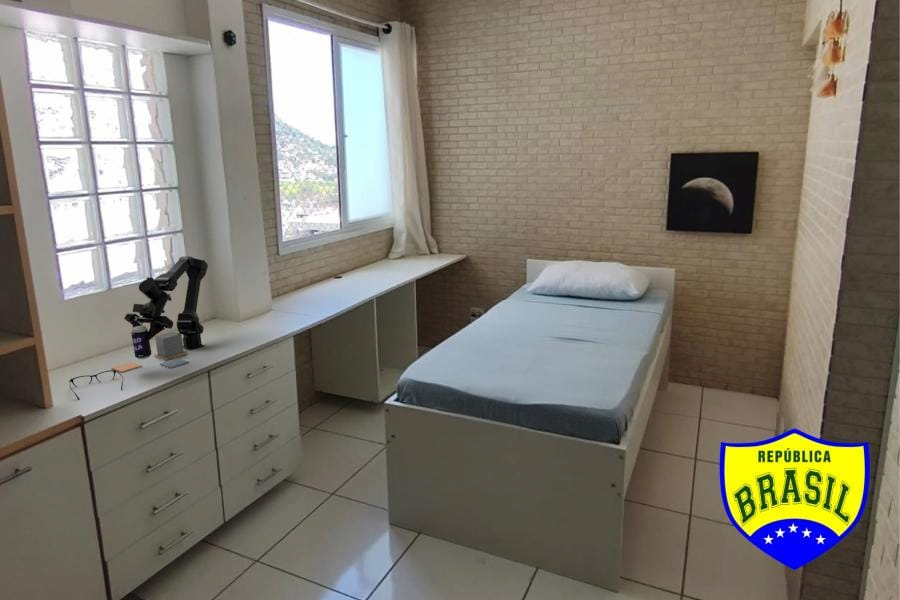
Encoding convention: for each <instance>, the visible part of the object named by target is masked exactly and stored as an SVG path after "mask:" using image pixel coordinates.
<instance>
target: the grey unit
mask: <svg viewBox="0 0 900 600" xmlns="http://www.w3.org/2000/svg"><path fill="white" fill-rule="evenodd" d="M154 337H155V338H154V339H155V345H156V351H157V354H154V355H153V357H154V358H155V357H156V359H158V358H159V359H158V360H161V359H162V361H164V360H166V361H169V360H168V359H170V360H173V359H176V358H179V357H178V356H180V357H183V356H185V355H188V351H186V350H184V348H183V334H180V333H179V332H176V331H172V332H167V333H164V334H160V335H155V336H154ZM182 355H183V356H182ZM175 357H176V358H175ZM172 358H173V359H172Z"/></svg>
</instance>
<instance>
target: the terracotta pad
mask: <svg viewBox="0 0 900 600" xmlns="http://www.w3.org/2000/svg"><path fill="white" fill-rule="evenodd" d="M142 367H143V365H141V364H139V363H136V362H133V361H130V362H126V363H123V364H119V365H116V366H111V370H116V371H118V372H119V373H120V374H122V373H125V372H129V371H133V370H136V369H140V368H142ZM118 372H117V373H118Z"/></svg>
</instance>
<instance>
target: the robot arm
mask: <svg viewBox="0 0 900 600" xmlns="http://www.w3.org/2000/svg"><path fill="white" fill-rule="evenodd" d="M208 267H209V265H208V263H207V262H206V260H205V259H198V258H194V257H193V256H180V257H179V258H178V260H177V261H176V262H175V264H174V265H172V267H170V268H169V269H168V271H167V272H165V273H162V274H160V275H158V276H156V277H155V278H153V277H150V276H149V277H147V276H146V279H145V280H143V281H141V282H140V284H138V290H139V291H140V292H141V294H143V295H144V296H145V297H146V298H147V299H149V300H150V301H149V302H146V303H144V304H143V303H133V306H132V312H131V313H126V314H125V316H124V318H123V319H124V320H125V321H126V322H128V323H129V324H130V325H132V328H133V327H136V326H143V324H149V328H148V333H147V336H146V339H145V341H147V342H148V341H150V340H152V338H154V337H155V336H157V335H158V334H159V333H161V332H162V331H165V330H166V329H170V330H171V329H172V328H173V327H174V321H173V320H172V319H170V317H168V316H167V315H162V314H165V312H166V311H165V310H164V309H165V306H166V305H167V302H171V301H173V300H172V297H171V293H167V292H174V290H175V289H176V287H177V286H178V280H179V279H180V278H181V277H182V276H183V274H185V273H186V275H187V278H188V282H187V286H186V287H187V288H186V294H185V301H184V308H183V311H182V312H181V313H180V312H179V313H178V314H177V320H176V328H177V331H178V333H180V334H181V335H182V343H183V349H186V350H194V349H198V348H201V347H204V346H205V345H204V344H202V336H201V335H202V334H203V332H204V329H205V328H204V326H203V325H202V324H201V323H200V317H199V315H198V313H197V309H198V301H199V297H200V288H201V281H202V280H203V279H204V278H205V276H206V275H207V270H208ZM137 313H138V314H137Z"/></svg>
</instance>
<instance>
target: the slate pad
mask: <svg viewBox="0 0 900 600" xmlns="http://www.w3.org/2000/svg"><path fill="white" fill-rule="evenodd" d="M186 363H188V364H189V363H190V361H189V360H185V359H183V358H179V357H176V358H173V359H170V360H166V361H164V362H160V363H159V364H160V365H159V366H161V365H162V366H161V367H163V366H165V367H164V368H166V367H168V368H167V369H169V368H172V369H174V368H173V367H175V368H177V367H176V366H178V367H181V366H184V365H187V364H186ZM183 364H184V365H183ZM180 365H181V366H180Z"/></svg>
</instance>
